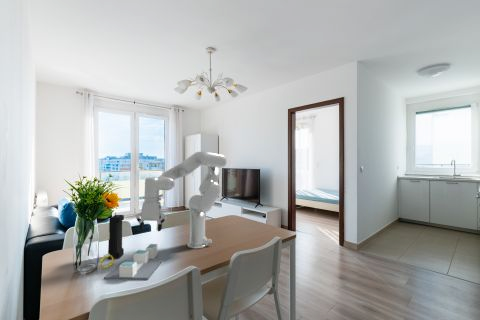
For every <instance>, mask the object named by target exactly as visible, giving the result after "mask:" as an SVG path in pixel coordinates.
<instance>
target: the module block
mask: <svg viewBox="0 0 480 320" xmlns="http://www.w3.org/2000/svg"><path fill="white" fill-rule="evenodd" d="M145 250H147V251H149V260H155V257H157V255H158V244H157V243H154V244H153V243H149V245H148V246H146V248H145Z"/></svg>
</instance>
